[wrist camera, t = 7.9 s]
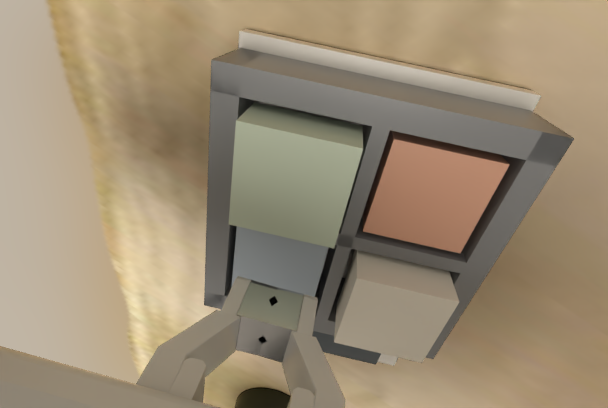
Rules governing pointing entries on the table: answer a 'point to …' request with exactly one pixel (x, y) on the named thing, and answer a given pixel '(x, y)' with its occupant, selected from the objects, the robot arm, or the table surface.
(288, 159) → the key sage
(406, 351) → the key ivory
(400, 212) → the key terracotta
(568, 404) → the table surface
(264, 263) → the key slate
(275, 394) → the wine bottle
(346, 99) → the keypad
